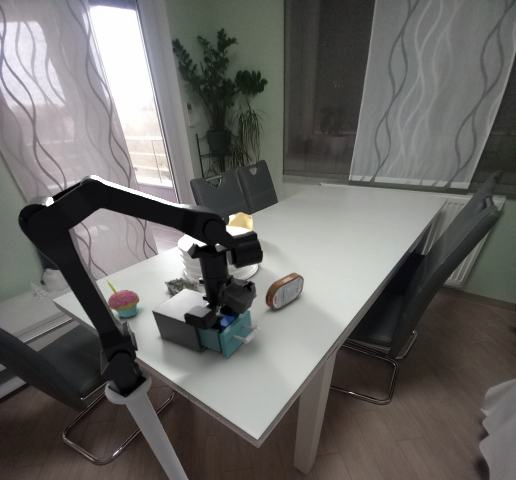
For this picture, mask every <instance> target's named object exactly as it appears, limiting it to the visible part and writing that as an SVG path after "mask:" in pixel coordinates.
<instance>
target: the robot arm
mask: <svg viewBox="0 0 516 480" xmlns="http://www.w3.org/2000/svg"><path fill="white" fill-rule="evenodd" d="M100 209H102V210H103V209H104V210H107V211H111V212H114V213H118V214H121V215H126V216H128V217H132V218H136V219H139V220H143V221H147V222H151V223H154V224H158V225H161V226H165V227H168V228H172V229H175V230H177V231H179V232H180V233H182V234H184V235H188V236H190V237H192V238H194V239H196V240H198V241H200V242H202V243H204V244H203V245H198V244H196V243H195V242H193V244H192V246H191V247H190V248H189V249H188V251H187V253H188V254H189V256H190V257H191V258H192V259H196V258H199V262H200V267H201V272H202V278H200V279H199V283H200V284H203V285H202V286H203V287H204V293H203V294H204V295H203V296H202V297H203V300H205V301H208V304H206V305H205V307H202V306H198V305H195V306H194V307H193V308H191V309H190V310H189V311H187V312H186V313H185V314H184V319H185V323H186V324H187V325H190V326H193V327H196V328H199V329H202V330H208V329H209V328H210V327H211V328H213V329H216V330H219V335H220V334H221V333H222V329H221V320H222V319H223V318H224V316H222V315H220V313H219V311H220V310H219V309H220V308H221V310H222V313H223V314H224V315H227V316H231V317H234V313H235V311H236V312H237V313H239V314H244V313H245V311H246V310H249V309H250V308H251V307H252V305H253V302H254V300H255V299H256V298H257V297H258V295H257V287H256V282H253V281H252V280H249V281H248V280H241V279H237V278H234V277H233V275H231V274H229V271H228V263H227V259H228V262H229V264H230V265H234V267H235V268H236V269H238V268H242V267H246V266H250V265H254V264H258V265H259V264H262V262H263V261H264V250H263V249H262V245H261V242H260V240H259V238H258V237H259V236H258V233H257V232H256V231H254V230H252V231H249V232H246V233H244V234H239V235H234V236H232V235H231V234H230V233H229V232H228V231H227V230H226V226H227V224H226V221H225V219H224V218H223V216H222V215H220V214H219V213H217V212H216V211H214V210H213V209H212V208H210V207H208V206H204V205H197V204H191V203H190V204H189V203H184V204H183V203H175V202H172V201H169V200H166V199H162V198H159V197H157V196H156V197H155V196H154V195H153V196H152V195H150V194H146V193H144V192H141V191H139V190H134V189H132V188H128V187H125V186H123V185H119V184H116V183H113V182H110V181H107V180H105V179H102V177H99V176H97V175H92V174H90V175H85V176H83V178H82V179H81V180H80V181H78V182H77V183H75V184H73V185H70V186H68V187H67V188H64V189H63V190H61V191H58V192H57V193H56V194H54V195H52V196H50V197H49V196H46V195H36V196H34V197H32V198H30V199H29V200H28V201H27V202H26V203H25V205H24V206H23V207H22V208H21V209H20V211H19V214H18V216H17V222H18V223H17V224H18V227H19V228H20V230H21V232H22V233H23V235H24V236H25V237H26V238H27V239H28V240H29V241H30V242H31V243H32V245H34V247H35V248H36V250H38V252H39V253H40V254H41V255H43V256H44V257H45V258H46V259H48V260H49V261H50V262H52V263H53V264H54V266H56V267H57V269H58V270H59V272H60V274H61V276H62V277H63V279H64V281H65V282H66V283H67V285H68V287H69V288H70V290H71V292H72V293H73V295H74V296H75V298H76V300H77V301H78V303H79V305H80V306H81V309H82V310H83V311H84V312H85V314H86V316H87V318H88V319H89V321H90V322H91V324H92V325H93V327H94V329H95V330H96V333H97V335H98V339H99V342H100V346H101V350H100V352H99V353H100V354H99V355H100V377H101V379H104V380H105V381H106V382H107V383H109V386H108V388H109V389H110V390H112V391H114V392H115V393H117V394H119V395H121V396H123V397H124V398H126V397H128V396H129V395H130V394H131V393H133V392H134V391H135V390H136V389H137V388H138V387H140V386H141V385H142V384H143V383H144V382H145V381H146V380H147V378H146V377H144V376H142V371H141V369H142V368H141V367H140V365H139V363H138V361H136V359H137V352H138V351H139V347H138V342H137V338H136V333H135V332H133V330H132V329H131V327H130V324H129V321H128V320H126V321H124V322H121V321H119V320H118V319H117V318H116V316H115V314H114V313H113V310H112V309H111V308H110V307H109V304H108V300H107V299H106V298H105V295H104V294H103V292H102V290H101V288H100V286H99V285H98V283H97V281H96V279H95V277H94V275H93V273H92V271H91V270H90V268H89V266H88V264H87V262H86V261H85V259H84V257H83V255H82V253H81V249H80V245H79V241H78V237H77V233H76V230H75V227H77V226H78V225H79V224H81V223H82V222H83V221H84V220H86V219H87V218H89V217H90V216H91V215H93V214H94V213H96V212H97V211H98V210H100ZM217 244H219V245H217ZM226 255H227V256H226ZM200 284H199V285H200ZM144 379H145V380H144Z"/></svg>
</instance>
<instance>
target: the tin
mask: <svg viewBox="0 0 516 480" xmlns="http://www.w3.org/2000/svg"><path fill="white" fill-rule="evenodd" d="M304 283H305V278H304V277H303V276H302V275H301V274H299V273H297V272H291V273H289V274H287V275H285V276H284V277H281V278H279V279H277V280H276V281H274V282H272V283H271V285H270V286H269V287H268V288H267V291H266V294H265V300H264V302H265V305H266V306H267V307H269V308H271V309H273V310H279V309H282V308H283V307H285V306H286V305H288V304H290V303H291V302H293V301H295V300H296V299H298V297H299V296H300V295H301V294H302V291H303V289H304Z"/></svg>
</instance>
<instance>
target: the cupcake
mask: <svg viewBox="0 0 516 480" xmlns="http://www.w3.org/2000/svg"><path fill="white" fill-rule="evenodd" d="M106 282H107V284H108V286H109V287H110V289H111V290H112V292H113V294H111V295H110V296H109V298H108V300H107V303H108V305H109V307H110V309H111V310H112V311H113V310H114V311H116V312H117V313H118V315H119V316H120V317H122V318H131V317H133V316H135V315H136V314H137V312H138V303H139V302H140V298H139V297H140V296H139V295H138V293H136V292H135V291H133V290H129V289H122V290H119V291H117V290H116V288H115V287H114V286H113V284H112V283H111V281H109V280H107V279H106Z"/></svg>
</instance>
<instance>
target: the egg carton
mask: <svg viewBox="0 0 516 480" xmlns="http://www.w3.org/2000/svg"><path fill="white" fill-rule="evenodd" d="M164 284H165V285H166V287H167V290H168V291H167V292H168V293H169V294H173V296H175V295H176V294H178V293H179V292H181V291H182V290H184V289H189V290H192V291H196V292H199V291H198V285H199V284H197V283H196V282H195V281H193V282H192V281H190V280H188V279H184V278H183V277H179V279H178V278H175V279H172V280H169V281H164Z"/></svg>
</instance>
